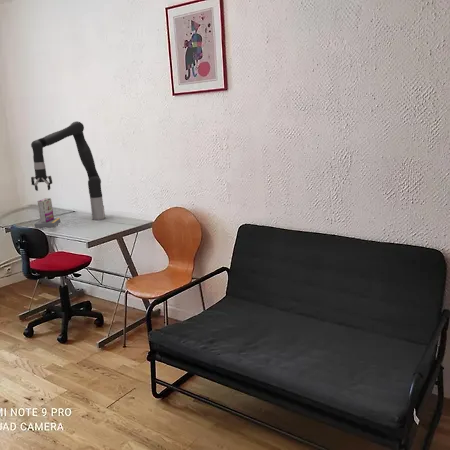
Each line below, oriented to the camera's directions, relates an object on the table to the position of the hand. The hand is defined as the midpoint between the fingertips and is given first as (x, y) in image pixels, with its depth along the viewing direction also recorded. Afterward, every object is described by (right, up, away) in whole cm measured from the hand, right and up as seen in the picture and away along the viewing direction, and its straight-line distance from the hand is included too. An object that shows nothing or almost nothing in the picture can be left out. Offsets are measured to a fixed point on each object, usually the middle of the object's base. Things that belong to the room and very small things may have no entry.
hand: (43, 190), depth 341 cm
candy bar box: (+1, -23, +6) cm, 24 cm away
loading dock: (+1, -25, +6) cm, 26 cm away
